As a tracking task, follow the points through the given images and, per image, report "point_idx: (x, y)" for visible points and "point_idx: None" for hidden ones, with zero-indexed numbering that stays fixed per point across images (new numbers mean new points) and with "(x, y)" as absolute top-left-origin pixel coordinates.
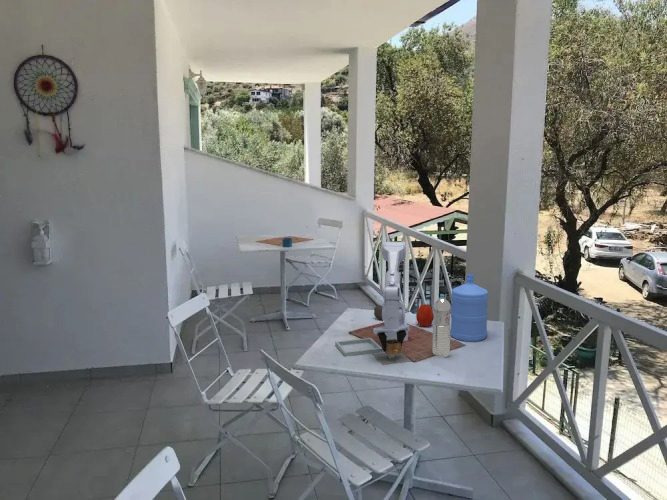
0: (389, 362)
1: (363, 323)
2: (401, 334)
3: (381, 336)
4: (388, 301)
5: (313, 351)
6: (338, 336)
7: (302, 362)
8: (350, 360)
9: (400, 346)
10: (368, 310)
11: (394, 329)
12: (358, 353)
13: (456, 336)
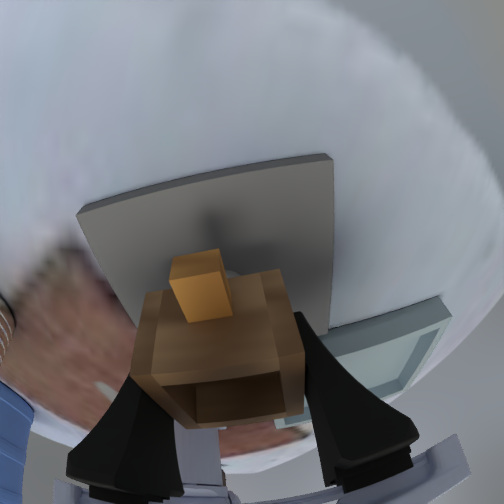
0: (261, 203)
1: (253, 458)
2: (115, 478)
3: (418, 433)
4: None
5: (461, 340)
6: None
7: None
8: (431, 280)
9: (140, 346)
10: (228, 473)
11: None
12: (393, 328)
13: (5, 394)
